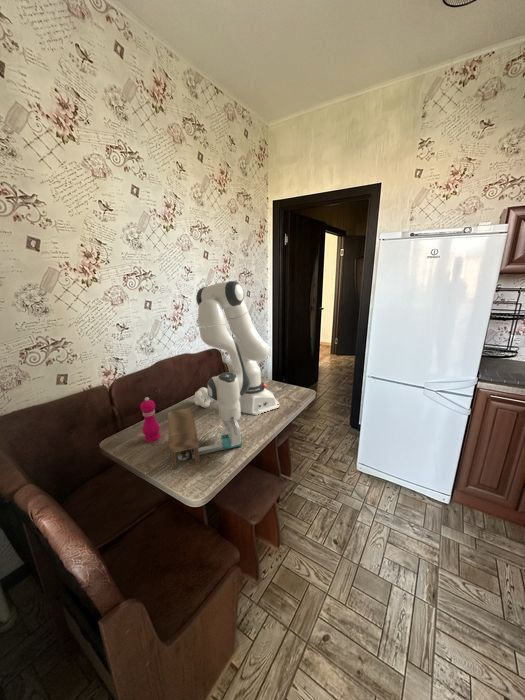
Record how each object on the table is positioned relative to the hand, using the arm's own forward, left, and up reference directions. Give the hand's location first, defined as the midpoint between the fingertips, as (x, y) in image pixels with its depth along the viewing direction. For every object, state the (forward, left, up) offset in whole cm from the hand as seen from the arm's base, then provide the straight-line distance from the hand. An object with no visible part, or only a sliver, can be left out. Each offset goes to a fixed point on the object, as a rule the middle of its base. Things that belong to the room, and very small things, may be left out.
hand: (231, 442), depth 117 cm
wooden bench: (+19, -4, -2) cm, 20 cm away
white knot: (+6, -45, -2) cm, 46 cm away
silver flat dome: (+19, 0, -2) cm, 20 cm away
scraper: (+6, 0, -2) cm, 6 cm away
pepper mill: (+32, -19, -2) cm, 37 cm away
